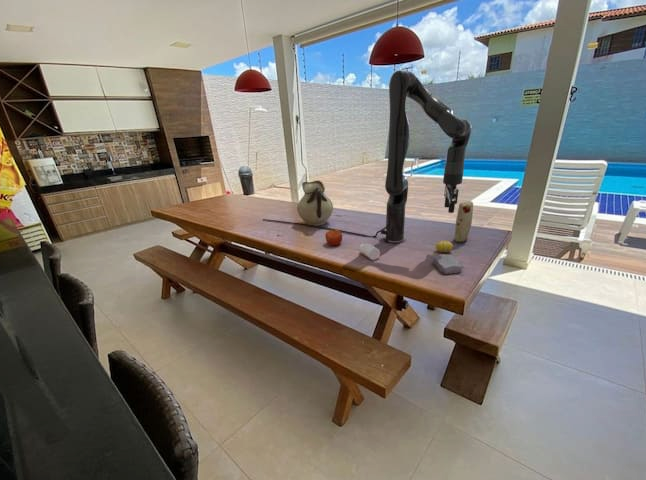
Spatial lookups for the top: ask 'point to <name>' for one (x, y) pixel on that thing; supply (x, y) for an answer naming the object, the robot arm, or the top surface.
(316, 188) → the cream drawstring sack
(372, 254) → the roll
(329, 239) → the tomato
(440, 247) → the lemon
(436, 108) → the robot arm
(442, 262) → the stone block
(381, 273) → the top surface
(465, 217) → the food model
